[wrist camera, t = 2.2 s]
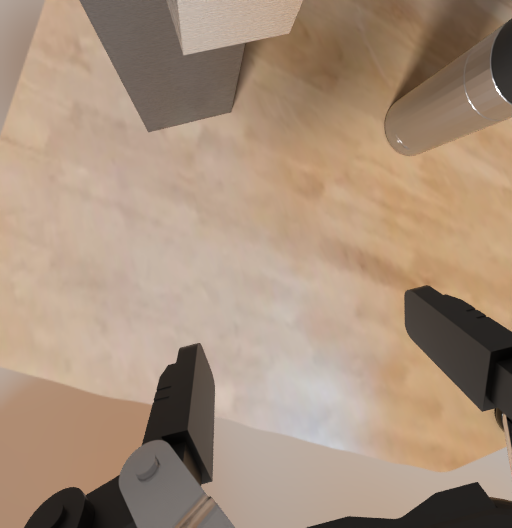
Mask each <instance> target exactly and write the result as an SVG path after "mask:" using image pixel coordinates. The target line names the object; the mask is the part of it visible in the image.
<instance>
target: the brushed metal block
mask: <svg viewBox="0 0 512 528" xmlns="http://www.w3.org/2000/svg"><path fill="white" fill-rule="evenodd" d="M166 1H167V4H168V7H169V10H170V13H171V17H172V20H173V23H174V26H175V30H176V33H177V36H178V39H179V42H180V46H181V49H182V52H183V55H188V54H192V53H197V52H202V51H207V50H212V49H217V48H221V47H226V46H231V45H236V44H241V43H245V42H250V41H255V40H260V39H265V38H270V37H274V36H279V35H284V34H289V33H290V31H291V28H292V26H293V24H294V21H295V19H296V16H297V14H298V11H299V9H300V7H301V4H302V2H303V0H166Z"/></svg>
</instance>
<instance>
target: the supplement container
mask: <svg viewBox="0 0 512 528" xmlns="http://www.w3.org/2000/svg"><path fill="white" fill-rule="evenodd" d="M503 415H504V413H503V412H502V411H501V410H500V409H499V408H496V419H497V423H498V425H499V427H500V428H501V429H502V430H503V432H504V426H503Z"/></svg>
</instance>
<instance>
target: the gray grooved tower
mask: <svg viewBox="0 0 512 528" xmlns="http://www.w3.org/2000/svg"><path fill="white" fill-rule="evenodd" d="M80 2H81V4H82V6H83V8H84V10H85V12H86V14H87V16H88V18H89V19H90V21H91V23H92V25H93V27H94V29H95V31H96V33H97V35H98V37H99V39H100V41H101V42H102V44H103V46H104V48H105V50H106V52H107V54H108V56H109V58H110V60H111V62H112V64H113V65H114V67H115V69H116V71H117V73H118V75H119V77H120V79H121V81H122V83H123V85H124V87H125V88H126V90H127V92H128V94H129V96H130V98H131V100H132V102H133V104H134V106H135V108H136V110H137V111H138V113H139V115H140V117H141V119H142V121H143V123H144V125H145V127H146V129H147V131H148V132H151V131H156V130H160V129H164V128H168V127H172V126H176V125H180V124H184V123H188V122H193V121H197V120H201V119H205V118H209V117H213V116H217V115H221V114H225V113H230V112H231V109H232V105H233V100H234V95H235V90H236V85H237V81H238V76H239V71H240V66H241V62H242V57H243V52H244V47H245V43H246V42H245V43H241V44H236V45H231V46H226V47H221V48H217V49H212V50H207V51H202V52H197V53H192V54H188V55H183V52H182V49H181V46H180V42H179V39H178V36H177V33H176V30H175V26H174V23H173V20H172V17H171V13H170V10H169V7H168V4H167V1H166V0H80Z"/></svg>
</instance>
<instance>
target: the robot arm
mask: <svg viewBox="0 0 512 528" xmlns="http://www.w3.org/2000/svg"><path fill="white" fill-rule="evenodd" d="M511 117H512V19H510V20H509V21H508V22H507V23H505V24H504V25H502V26H501V27H500V28H498V29H497V30H495V31H494V32H493V33H491V34H490V35H488V36H487V37H486V38H484V39H483V40H481V41H480V42H479V43H477V44H476V45H475V46H473V47H472V48H470V49H469V50H468V51H466V52H465V53H463V54H462V55H461V56H459V57H458V58H456V59H455V60H454V61H452V62H451V63H449V64H448V65H447V66H445V67H444V68H442V69H441V70H440V71H438V72H437V73H435V74H434V75H433V76H431V77H430V78H428V79H427V80H426V81H424V82H423V83H421V84H420V85H419V86H417V87H416V88H414V89H413V90H411V91H410V92H409V93H407V94H406V95H404V96H403V97H402V98H400V99H399V100H397V101H396V102H395V103H394V104H393V105H392V106H391V108H390V109H389V111H388V113H387V115H386V120H385V132H386V136H387V139H388V141H389V143H390V144H391V146H392V147H393V148H394V149H395V150H396V151H397V152H399V153H401V154H403V155H408V156H413V155H417V154H420V153H423V152H425V151H428V150H430V149H433V148H436V147H438V146H441V145H443V144H446V143H448V142H451V141H453V140H456V139H459V138H461V137H464V136H466V135H469V134H471V133H474V132H476V131H479V130H481V129H484V128H486V127H489V126H491V125H494V124H496V123H499V122H501V121H504V120H506V119H509V118H511ZM404 298H405V327H406V330H407V333H408V335H409V336H410V338H411V339H412V340H413V341H414V342H415V343H416V344H417V345H418V346H419V347H420V348H421V349H422V350H423V351H424V352H425V353H426V355H427V356H428V357H429V358H430V359H431V360H432V361H433V362H434V363H435V364H436V365H437V366H438V367H439V368H440V369H441V370H442V371H443V372H444V373H445V374H446V375H447V376H448V377H449V378H450V379H451V380H452V381H453V382H454V383H455V384H456V385H457V386H458V387H459V388H460V389H461V390H462V391H463V392H464V393H465V394H466V395H467V397H468V398H469V399H470V400H471V401H472V402H473V403H474V404H475V405H476V406H477V407H478V408H479V409H480V410H481V411H482V412H483V411H487V410H490V409H494V408H499V409H500V410H501V411H502V412H503V413H504V415H503V426H504V432H505V438H506V444H507V450H508V456H509V463H510V468H511V474H512V332H511V331H509V330H508V329H506V328H505V327H503V326H502V325H500V324H499V323H497V322H496V321H494V320H492V319H491V318H489V317H486V315H485V314H483V313H482V312H480V311H478V310H475V308H474V307H472V306H471V305H469V304H468V303H466V302H465V301H463V300H461V299H458V298H455V297H452V296H449V295H442V294H441V293H439V292H438V291H436V290H435V289H433V288H432V287H430V286H428V285H426V286H422V287H418V288H414V289H410V290H407V291H406V292H405V297H404ZM214 403H215V385H214V378H213V374H212V371H211V369H210V366H209V364H208V361H207V358H206V356H205V353H204V350H203V348H202V346H201V344H200V343H197V344H193V345H189V346H186V347H182V348H180V349H179V352H178V357H177V362H176V363H175V364H171V365H168V366H167V368H166V369H165V371H164V372H163V373H162V375H161V376H160V379H159V383H158V386H157V392H156V394H155V398H154V403H153V405H152V409H151V413H150V417H149V420H148V424H147V428H146V432H145V435H144V439H143V443H142V446H141V447H139V448H138V449H137V450H136V451H135V452H133V453H132V454H131V456H130V457H129V458H128V459H127V461H126V463H125V464H124V466H123V468H122V470H121V473H120V475H119V476H117V477H116V478H114V479H112V480H111V481H109V482H107V483H106V484H104V485H102V486H100V487H99V488H97V489H95V490H94V491H92V492H90V493H89V494H87V495H85V494H84V493H83V492H82V491H81V490H80V489H79V488H76V487H70V488H66V489H63V490H61V491H59V492H57V493H55V494H54V495H52V496H51V497H50V498H48V500H46V501H45V502H44V503H43V504H42V505H41V506H40V507H39V508H38V509H37V510H36V511H35V512H34V514H33V515H32V516H31V517H30V519H29V520H28V522H27V524H26V525H25V527H24V528H235V527H234V526H233V524H232V523H231V522H230V520H229V519H228V518H227V516H226V515H225V514H224V512H223V511H222V510H221V508H220V507H219V506H218V504H217V503H216V502H215V501H214V499H213V498H212V497H208V496H207V494H206V493H205V492H204V490H203V489H202V488H201V484H205V483H208V482H212V474H213V473H212V472H213V438H214ZM307 528H512V501H508V500H505V499H499V498H493V497H488V495H487V494H486V493H485V492H484V490H483V489H482V487H481V486H480V485H479V483H478V482H475V483H471V484H468V485H464V486H460V487H457V488H453V489H449V490H445V491H442V492H438V493H435V494H434V495H432V496H431V497H429V498H428V499H427V500H425V501H424V502H423V503H421V504H420V505H419V506H417V507H416V508H414V509H413V510H411V511H410V512H409V513H407V514H406V515H405V516H403V517H401V518H398V519H384V518H367V517H350V516H349V517H345V518H341V519H337V520H334V521H329V522H326V523H322V524H318V525H315V526H311V527H307Z"/></svg>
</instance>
